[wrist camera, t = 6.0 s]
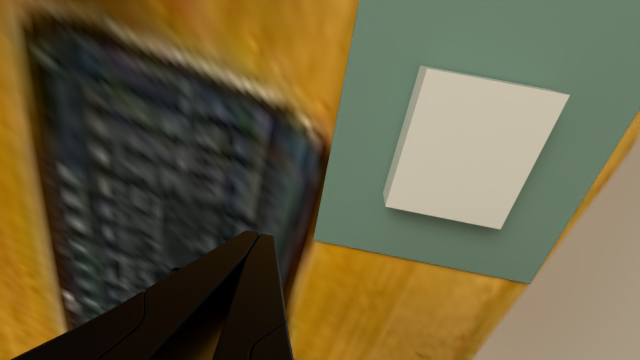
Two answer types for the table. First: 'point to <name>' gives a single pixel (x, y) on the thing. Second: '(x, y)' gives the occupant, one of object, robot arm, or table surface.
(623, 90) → the mat
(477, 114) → the block
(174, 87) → the table surface
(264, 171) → the table surface
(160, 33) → the table surface
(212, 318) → the robot arm
